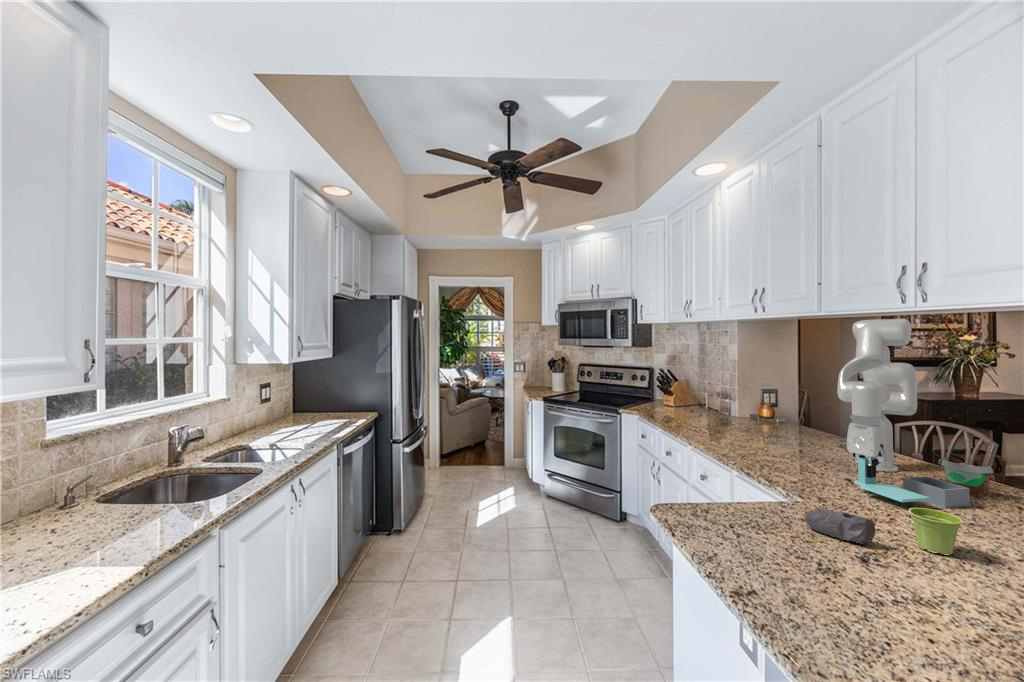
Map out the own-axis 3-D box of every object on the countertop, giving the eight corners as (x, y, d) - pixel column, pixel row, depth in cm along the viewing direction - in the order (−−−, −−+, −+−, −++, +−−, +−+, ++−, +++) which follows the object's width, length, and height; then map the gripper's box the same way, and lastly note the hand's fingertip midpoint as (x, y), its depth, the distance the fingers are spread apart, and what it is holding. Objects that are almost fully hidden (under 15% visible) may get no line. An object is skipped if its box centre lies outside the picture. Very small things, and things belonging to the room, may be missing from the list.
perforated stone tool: (801, 530, 116) (800, 505, 116) (808, 525, 120) (808, 500, 120) (870, 551, 104) (870, 523, 104) (877, 545, 107) (876, 518, 107)
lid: (848, 483, 144) (847, 457, 144) (873, 481, 146) (873, 456, 146) (902, 502, 127) (901, 472, 127) (930, 500, 129) (930, 471, 129)
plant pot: (922, 538, 111) (921, 505, 111) (971, 555, 102) (971, 519, 102) (900, 545, 107) (899, 510, 107) (949, 563, 98) (949, 525, 98)
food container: (934, 488, 147) (934, 459, 147) (943, 485, 150) (942, 457, 150) (985, 500, 136) (985, 469, 136) (993, 497, 139) (993, 466, 139)
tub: (903, 495, 141) (902, 477, 141) (926, 494, 142) (925, 476, 142) (945, 510, 129) (944, 490, 129) (969, 507, 130) (969, 488, 130)
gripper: (835, 417, 150) (835, 469, 150) (880, 425, 135) (881, 484, 134) (853, 416, 152) (854, 468, 151) (900, 425, 136) (901, 482, 136)
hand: (866, 475), depth 143 cm, fingers closed on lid
